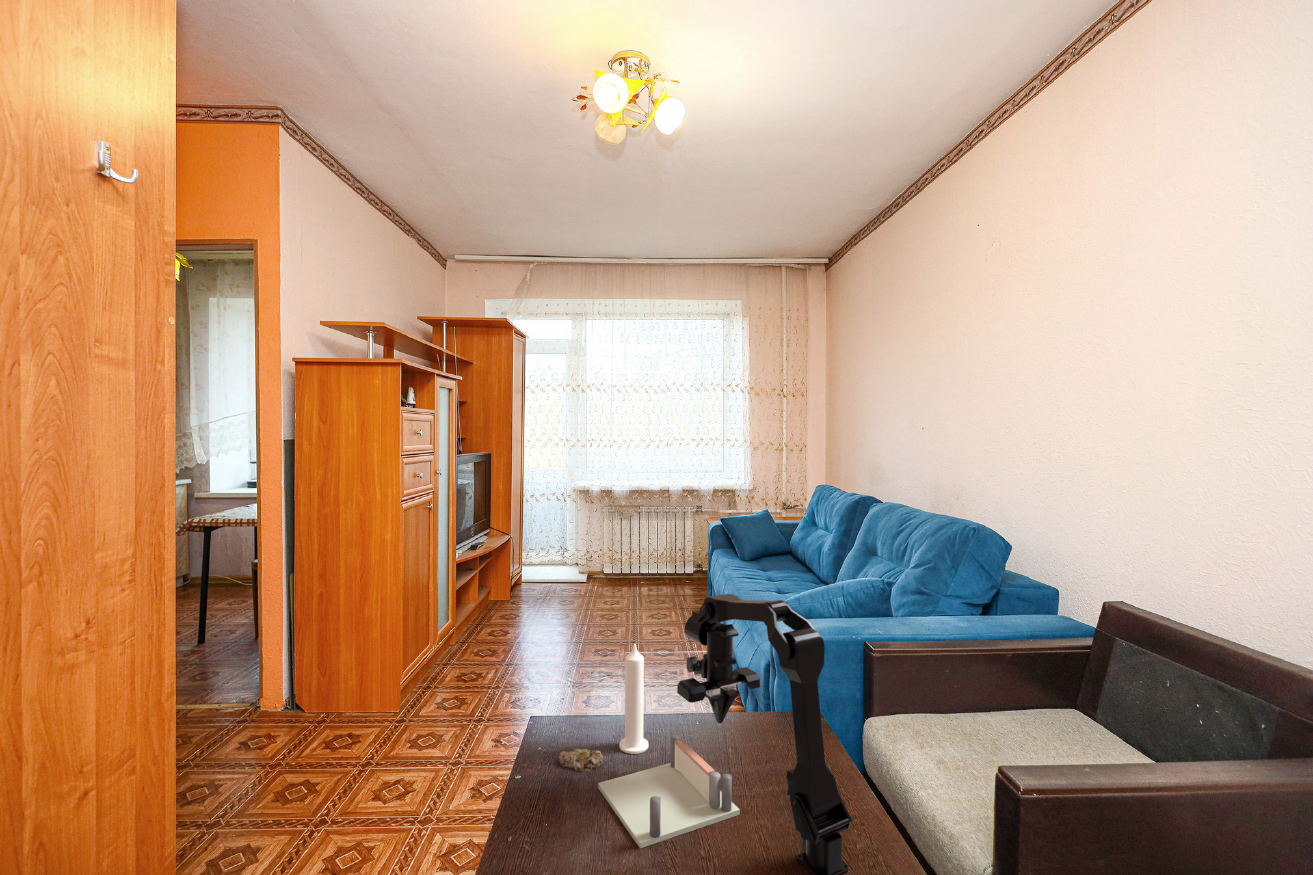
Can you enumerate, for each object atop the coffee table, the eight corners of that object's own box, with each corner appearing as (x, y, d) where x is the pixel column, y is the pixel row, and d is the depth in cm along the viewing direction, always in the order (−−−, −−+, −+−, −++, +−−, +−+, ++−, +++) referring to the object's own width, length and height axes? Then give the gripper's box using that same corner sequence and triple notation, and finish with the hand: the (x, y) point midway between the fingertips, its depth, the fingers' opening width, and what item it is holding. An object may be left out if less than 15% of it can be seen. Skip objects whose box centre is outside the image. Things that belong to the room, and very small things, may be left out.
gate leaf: (722, 806, 118) (722, 776, 118) (713, 809, 117) (713, 778, 117) (682, 765, 133) (682, 738, 133) (673, 767, 132) (673, 740, 132)
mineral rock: (607, 744, 141) (600, 752, 133) (607, 764, 139) (600, 774, 132) (563, 743, 142) (554, 750, 134) (562, 763, 141) (553, 772, 133)
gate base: (740, 814, 118) (740, 776, 118) (640, 848, 108) (640, 807, 108) (687, 762, 137) (687, 730, 137) (598, 787, 127) (598, 752, 127)
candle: (615, 742, 145) (615, 641, 145) (641, 736, 148) (642, 637, 148) (625, 756, 139) (626, 650, 139) (653, 750, 142) (653, 646, 142)
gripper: (734, 635, 143) (733, 699, 142) (665, 647, 134) (665, 715, 134) (762, 649, 133) (761, 719, 133) (690, 663, 124) (689, 738, 124)
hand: (719, 722), depth 131 cm, fingers closed
